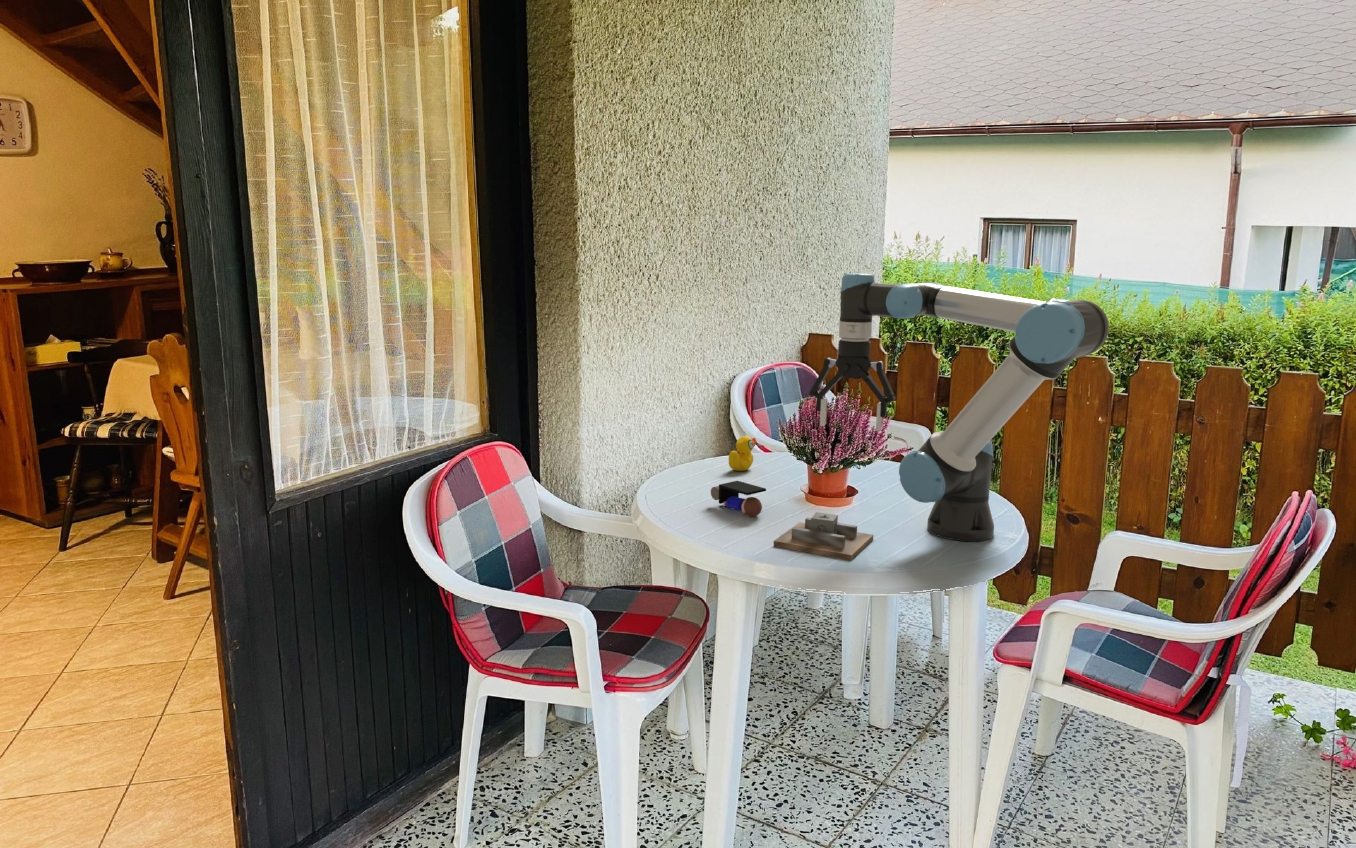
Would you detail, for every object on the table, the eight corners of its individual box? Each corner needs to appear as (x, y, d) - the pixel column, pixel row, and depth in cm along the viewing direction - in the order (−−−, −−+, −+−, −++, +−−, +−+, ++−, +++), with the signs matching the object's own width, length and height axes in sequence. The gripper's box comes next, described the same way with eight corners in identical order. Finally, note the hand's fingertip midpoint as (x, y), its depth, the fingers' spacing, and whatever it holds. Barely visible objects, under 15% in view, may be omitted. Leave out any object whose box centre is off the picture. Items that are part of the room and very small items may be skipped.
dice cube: (810, 539, 211) (811, 518, 210) (815, 533, 215) (816, 512, 214) (832, 542, 209) (833, 521, 208) (836, 536, 213) (837, 514, 212)
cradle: (873, 539, 215) (874, 524, 214) (851, 560, 201) (852, 544, 200) (799, 527, 223) (800, 512, 223) (773, 546, 209) (774, 530, 209)
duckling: (746, 465, 281) (748, 432, 279) (761, 468, 278) (762, 435, 276) (723, 471, 273) (724, 438, 271) (737, 475, 270) (738, 441, 267)
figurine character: (709, 512, 239) (748, 520, 227) (707, 482, 238) (746, 489, 226) (729, 507, 243) (769, 516, 231) (728, 478, 242) (767, 485, 230)
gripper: (799, 337, 223) (795, 425, 227) (905, 344, 213) (899, 435, 217) (808, 335, 230) (804, 420, 234) (911, 340, 220) (905, 429, 224)
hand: (850, 427), depth 226 cm, fingers open, 13 cm apart
